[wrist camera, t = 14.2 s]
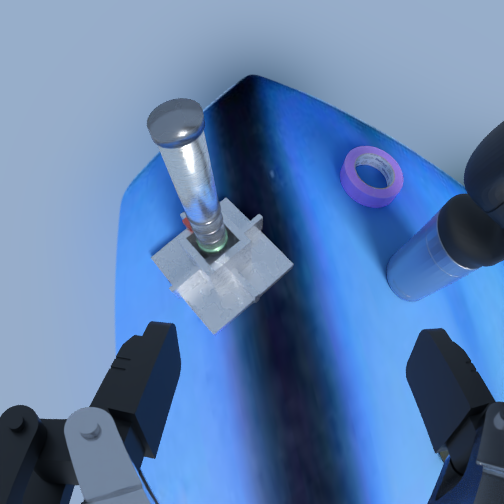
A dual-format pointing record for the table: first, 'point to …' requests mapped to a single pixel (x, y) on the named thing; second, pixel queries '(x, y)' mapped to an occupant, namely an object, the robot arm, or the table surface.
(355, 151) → the masking tape
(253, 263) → the jack base
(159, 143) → the cylinder
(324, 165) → the table surface
